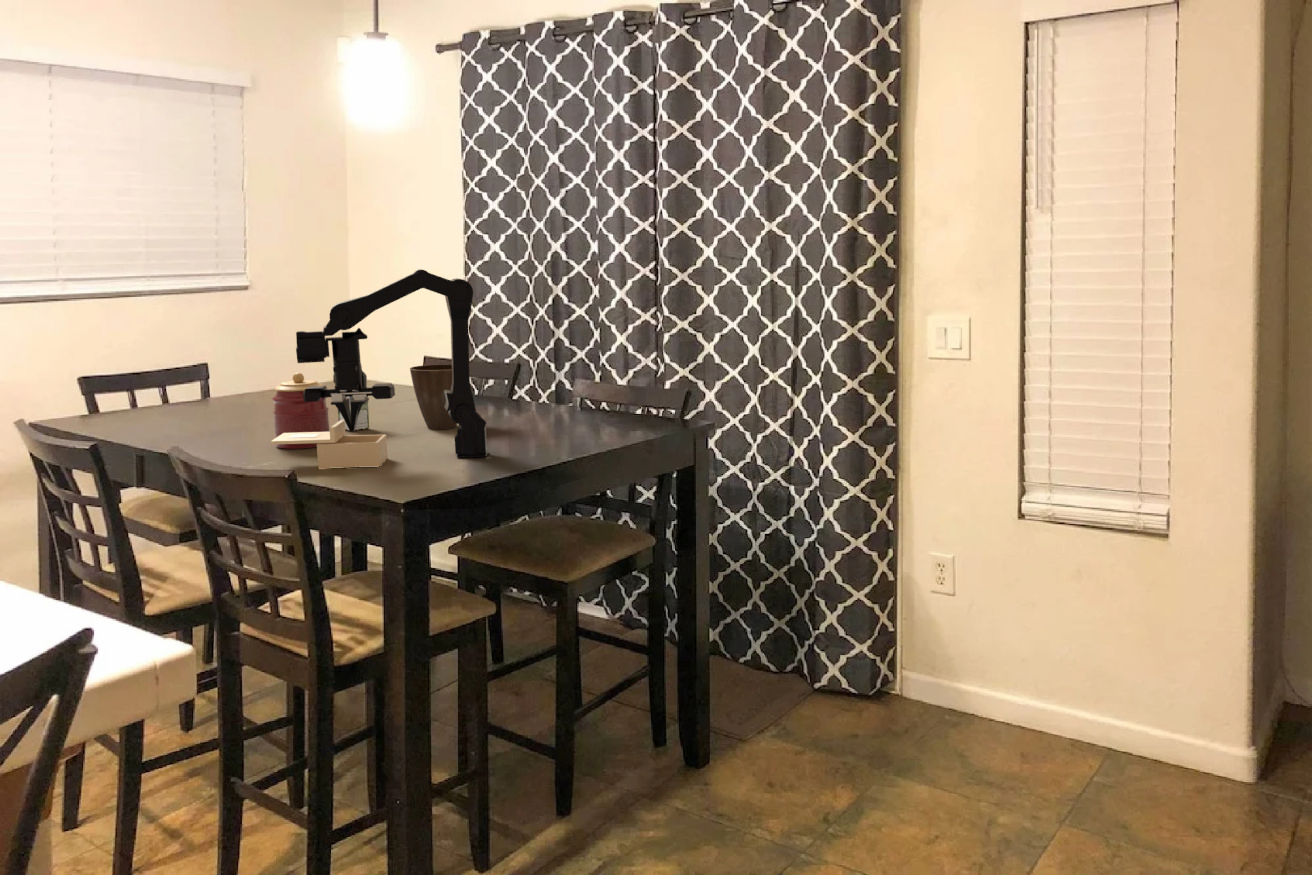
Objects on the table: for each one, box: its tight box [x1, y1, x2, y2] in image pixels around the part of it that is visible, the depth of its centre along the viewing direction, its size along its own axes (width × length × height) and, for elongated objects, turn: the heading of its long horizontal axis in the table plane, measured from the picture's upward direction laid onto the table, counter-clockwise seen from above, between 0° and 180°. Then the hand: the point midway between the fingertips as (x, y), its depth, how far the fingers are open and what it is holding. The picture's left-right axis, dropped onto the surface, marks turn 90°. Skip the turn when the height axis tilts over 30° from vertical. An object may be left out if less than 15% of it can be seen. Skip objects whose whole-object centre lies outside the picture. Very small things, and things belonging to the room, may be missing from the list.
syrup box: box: [337, 375, 370, 431], centre depth 287 cm, size 6×6×14 cm
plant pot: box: [409, 363, 458, 430], centre depth 288 cm, size 15×15×16 cm
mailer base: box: [316, 434, 388, 469], centre depth 242 cm, size 13×10×6 cm
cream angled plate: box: [269, 420, 347, 446], centre depth 241 cm, size 14×11×3 cm
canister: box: [271, 372, 330, 450], centre depth 266 cm, size 13×13×18 cm
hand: (352, 431), depth 241 cm, fingers closed
